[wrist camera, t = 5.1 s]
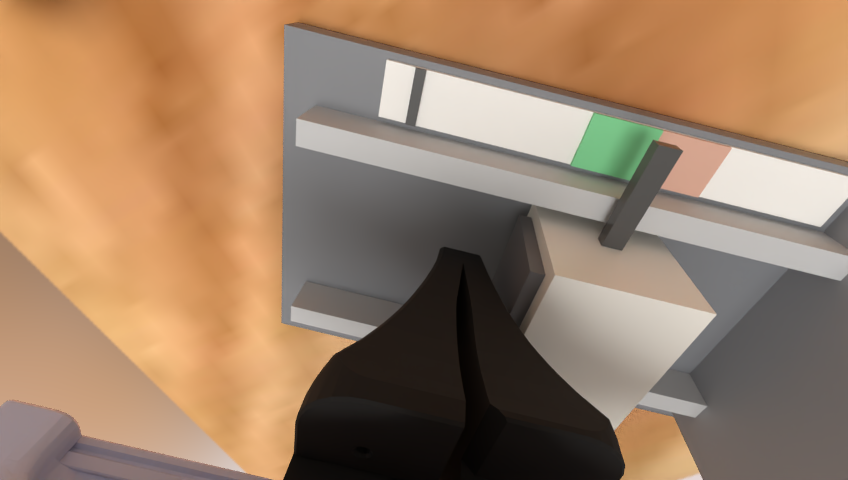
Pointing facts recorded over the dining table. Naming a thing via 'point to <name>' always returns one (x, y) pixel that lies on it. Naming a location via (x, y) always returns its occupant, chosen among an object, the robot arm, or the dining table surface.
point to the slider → (603, 294)
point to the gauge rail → (582, 196)
